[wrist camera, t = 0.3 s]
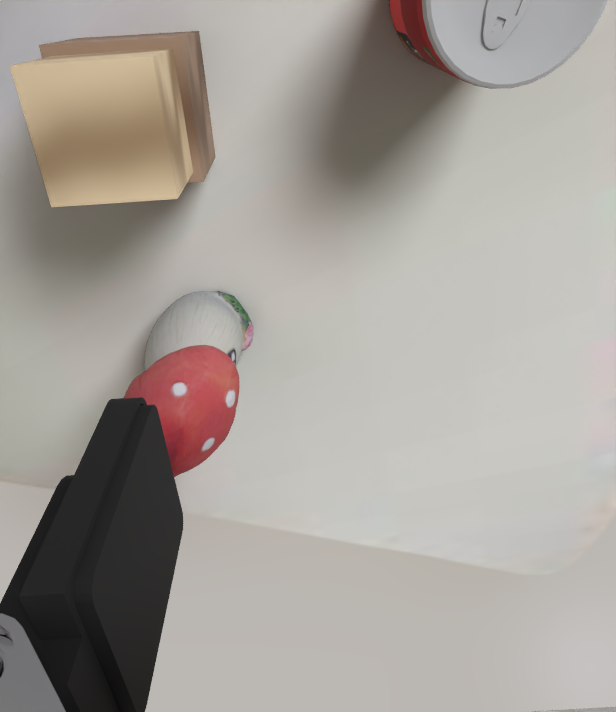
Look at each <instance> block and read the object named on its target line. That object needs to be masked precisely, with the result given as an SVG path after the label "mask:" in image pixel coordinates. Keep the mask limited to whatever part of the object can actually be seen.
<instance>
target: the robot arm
mask: <svg viewBox="0 0 616 712" xmlns="http://www.w3.org/2000/svg"><path fill="white" fill-rule="evenodd" d="M182 530H183V513H182V508H181V504H180V500H179V496H178V492H177V488H176V483H175V479H174V475H173V471H172V467H171V463H170V459H169V454H168V450H167V446H166V442H165V438H164V434H163V430H162V425H161V421H160V417H159V413H158V410H157V407H156V405H147V403H146V401H145V399H144V398H142V397H138V398H122V399H111V400H109V402H108V403H107V405H106V407H105V409H104V412H103V414H102V416H101V418H100V420H99V423H98V425H97V427H96V429H95V431H94V433H93V436H92V438H91V440H90V442H89V444H88V446H87V449H86V451H85V453H84V455H83V457H82V459H81V462H80V464H79V466H78V468H77V470H76V472H75V475H71V476H66V477H64V478H63V479H62V480H61V481H60V483H59V484H58V486H57V488H56V490H55V492H54V494H53V496H52V498H51V500H50V502H49V504H48V506H47V508H46V510H45V512H44V515H43V517H42V519H41V521H40V523H39V525H38V527H37V529H36V531H35V533H34V535H33V537H32V539H31V541H30V543H29V546H28V547H27V550H26V552H25V554H24V556H23V558H22V560H21V562H20V564H19V566H18V568H17V570H16V572H15V574H14V576H13V578H12V580H11V582H10V585H9V587H8V589H7V591H6V593H5V595H4V597H3V599H2V601H1V603H0V712H145V709H146V705H147V700H148V696H149V691H150V686H151V681H152V676H153V671H154V666H155V662H156V657H157V652H158V647H159V643H160V638H161V633H162V628H163V623H164V618H165V613H166V609H167V604H168V599H169V594H170V589H171V584H172V580H173V575H174V570H175V565H176V560H177V555H178V550H179V546H180V540H181V536H182ZM534 712H616V707H606V708H588V709H569V710H552V711H534Z"/></svg>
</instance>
